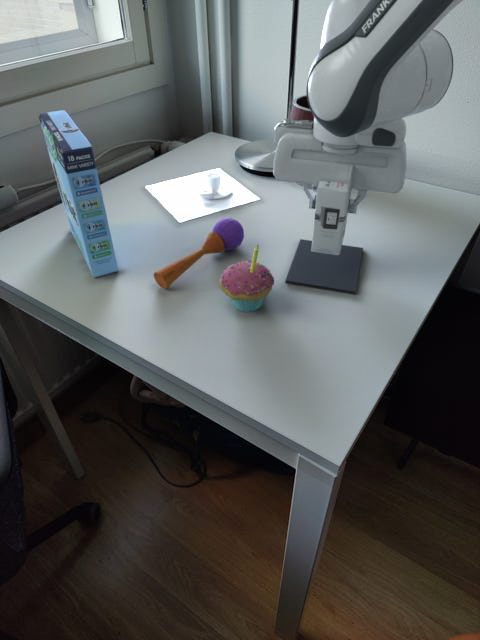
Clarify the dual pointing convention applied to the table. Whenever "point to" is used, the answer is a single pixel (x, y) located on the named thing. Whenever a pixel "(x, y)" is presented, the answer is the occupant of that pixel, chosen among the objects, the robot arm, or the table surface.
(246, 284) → the cupcake
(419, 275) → the table surface
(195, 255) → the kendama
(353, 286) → the slate mat
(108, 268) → the gum box
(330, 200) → the ink box
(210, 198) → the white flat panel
